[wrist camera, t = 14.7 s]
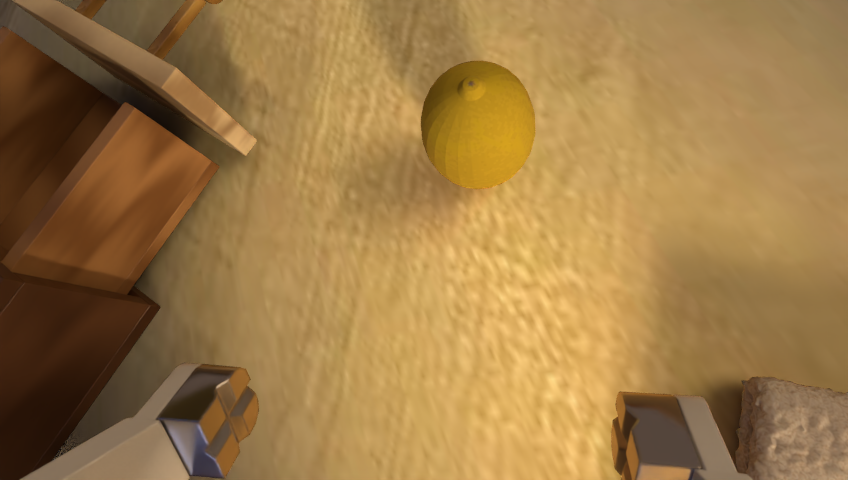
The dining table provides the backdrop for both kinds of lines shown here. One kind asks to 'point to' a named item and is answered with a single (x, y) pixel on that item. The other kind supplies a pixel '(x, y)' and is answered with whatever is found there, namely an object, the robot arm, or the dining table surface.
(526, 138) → the lemon
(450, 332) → the dining table surface
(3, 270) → the cabinet
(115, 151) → the drawer
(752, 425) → the washcloth
